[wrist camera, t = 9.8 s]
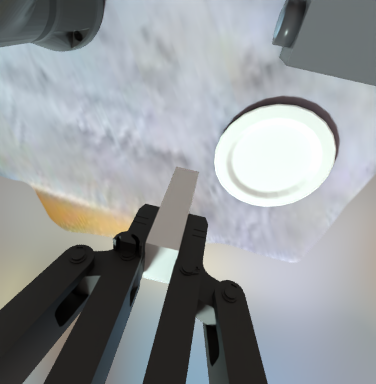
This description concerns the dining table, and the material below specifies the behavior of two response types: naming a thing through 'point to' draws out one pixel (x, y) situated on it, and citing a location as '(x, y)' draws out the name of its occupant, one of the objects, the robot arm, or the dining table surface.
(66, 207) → the dining table surface
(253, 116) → the plate
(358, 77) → the camera body
